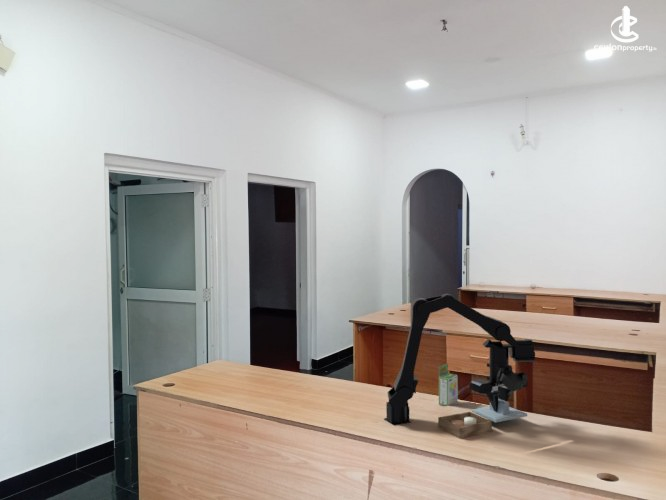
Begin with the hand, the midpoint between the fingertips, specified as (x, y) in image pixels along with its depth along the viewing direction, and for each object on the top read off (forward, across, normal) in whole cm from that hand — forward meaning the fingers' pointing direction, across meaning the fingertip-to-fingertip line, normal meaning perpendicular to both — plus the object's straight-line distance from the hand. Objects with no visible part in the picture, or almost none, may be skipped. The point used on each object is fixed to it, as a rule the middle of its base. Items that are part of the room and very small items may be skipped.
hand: (499, 410), depth 162 cm
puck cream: (+3, -11, 0) cm, 12 cm away
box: (+4, -14, 0) cm, 14 cm away
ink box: (+4, -2, +23) cm, 23 cm away
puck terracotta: (+3, -16, 0) cm, 17 cm away
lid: (+1, 0, 0) cm, 1 cm away
